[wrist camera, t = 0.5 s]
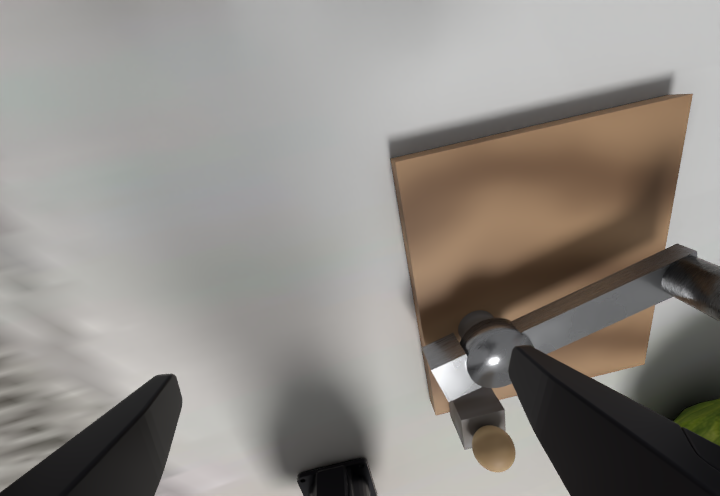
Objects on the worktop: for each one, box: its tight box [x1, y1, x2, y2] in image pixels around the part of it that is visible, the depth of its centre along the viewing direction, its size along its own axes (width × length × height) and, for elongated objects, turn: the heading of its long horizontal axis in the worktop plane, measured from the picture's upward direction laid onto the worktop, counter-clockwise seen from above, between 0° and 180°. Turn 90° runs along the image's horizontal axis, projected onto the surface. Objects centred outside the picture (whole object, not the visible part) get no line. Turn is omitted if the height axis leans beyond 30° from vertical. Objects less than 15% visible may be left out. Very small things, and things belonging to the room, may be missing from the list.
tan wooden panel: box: [391, 94, 693, 472], centre depth 22 cm, size 22×18×7 cm
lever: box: [422, 244, 720, 402], centre depth 19 cm, size 18×4×8 cm, turn 117°
